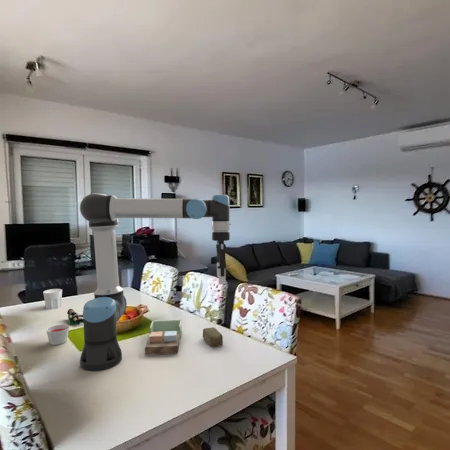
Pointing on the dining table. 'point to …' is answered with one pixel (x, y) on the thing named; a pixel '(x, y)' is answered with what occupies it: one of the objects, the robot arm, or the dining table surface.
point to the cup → (53, 298)
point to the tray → (166, 326)
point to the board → (162, 346)
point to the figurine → (74, 317)
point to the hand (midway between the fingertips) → (221, 280)
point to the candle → (57, 334)
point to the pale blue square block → (170, 336)
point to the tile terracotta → (156, 336)
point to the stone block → (213, 337)
